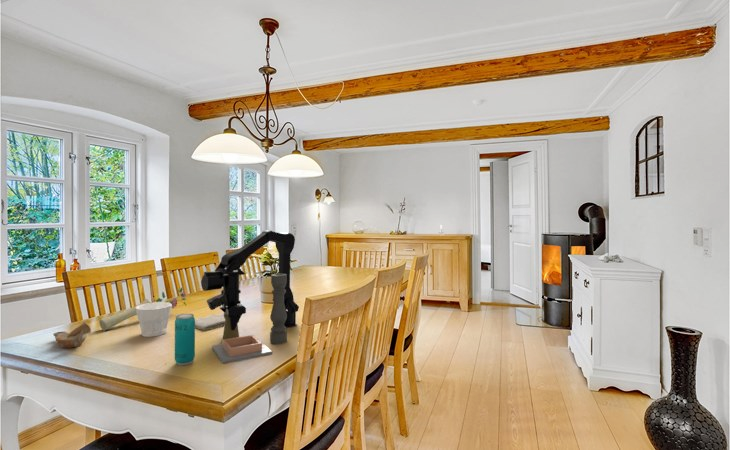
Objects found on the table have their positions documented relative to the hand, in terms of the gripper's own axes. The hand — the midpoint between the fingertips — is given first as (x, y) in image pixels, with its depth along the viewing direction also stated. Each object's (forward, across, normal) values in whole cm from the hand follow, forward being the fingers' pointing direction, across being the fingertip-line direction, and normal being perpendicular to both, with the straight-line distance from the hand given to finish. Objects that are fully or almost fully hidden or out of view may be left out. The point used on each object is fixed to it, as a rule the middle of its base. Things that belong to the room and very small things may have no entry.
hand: (231, 328), depth 140 cm
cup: (+4, -22, -24) cm, 33 cm away
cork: (+4, 0, 0) cm, 4 cm away
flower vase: (+4, -44, -26) cm, 51 cm away
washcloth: (+5, -24, -1) cm, 24 cm away
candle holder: (+4, +12, +14) cm, 19 cm away
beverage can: (+4, +16, -18) cm, 24 cm away
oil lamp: (+4, -23, -50) cm, 55 cm away
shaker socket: (+4, +15, 0) cm, 16 cm away
